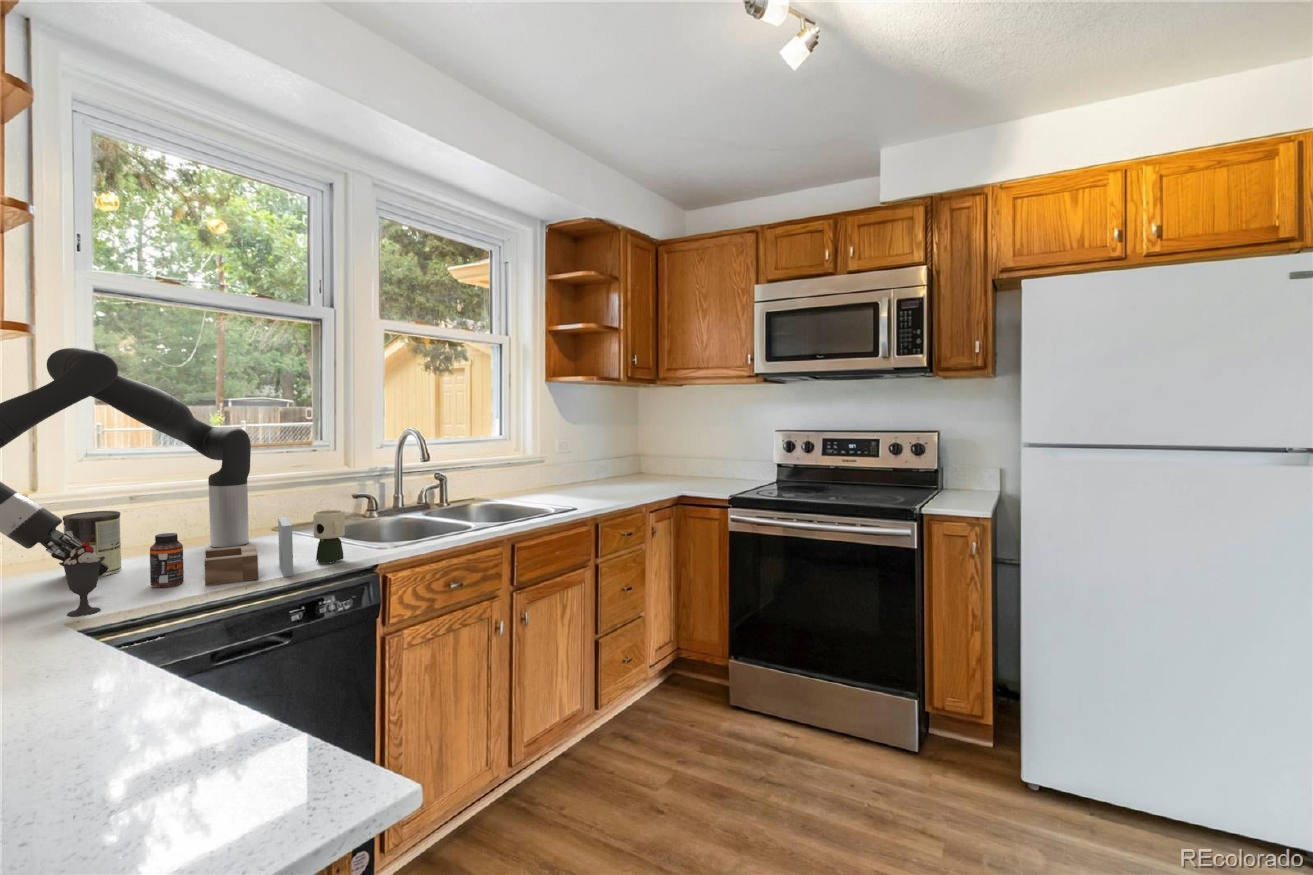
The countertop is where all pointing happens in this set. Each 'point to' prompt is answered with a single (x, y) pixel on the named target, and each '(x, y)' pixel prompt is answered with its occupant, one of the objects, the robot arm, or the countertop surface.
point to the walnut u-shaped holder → (231, 564)
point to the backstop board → (285, 546)
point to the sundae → (82, 575)
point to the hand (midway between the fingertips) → (104, 571)
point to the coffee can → (98, 535)
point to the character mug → (329, 535)
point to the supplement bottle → (166, 561)
